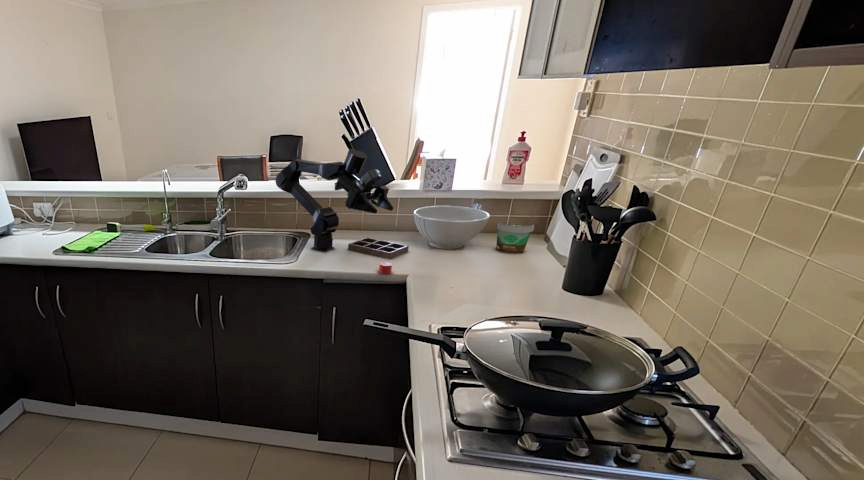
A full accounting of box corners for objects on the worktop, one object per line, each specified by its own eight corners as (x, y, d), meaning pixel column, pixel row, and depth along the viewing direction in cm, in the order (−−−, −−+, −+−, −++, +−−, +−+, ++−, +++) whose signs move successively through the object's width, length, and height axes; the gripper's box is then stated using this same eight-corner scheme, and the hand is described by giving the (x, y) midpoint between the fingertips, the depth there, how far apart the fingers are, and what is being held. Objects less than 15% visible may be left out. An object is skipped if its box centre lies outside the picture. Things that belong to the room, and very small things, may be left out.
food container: (492, 253, 183) (498, 225, 179) (491, 248, 188) (497, 221, 184) (529, 255, 179) (536, 227, 174) (528, 251, 184) (535, 223, 179)
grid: (347, 249, 193) (348, 243, 191) (366, 242, 200) (367, 237, 199) (389, 259, 181) (390, 253, 179) (408, 251, 188) (408, 245, 187)
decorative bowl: (398, 247, 194) (401, 215, 188) (425, 232, 211) (430, 203, 205) (468, 259, 178) (475, 225, 172) (492, 242, 196) (499, 210, 190)
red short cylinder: (376, 272, 168) (377, 264, 167) (382, 269, 171) (383, 261, 169) (386, 275, 166) (387, 266, 164) (393, 272, 168) (394, 263, 166)
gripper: (346, 165, 163) (380, 191, 156) (379, 162, 174) (412, 187, 167) (331, 195, 170) (363, 221, 163) (365, 191, 181) (395, 215, 175)
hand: (384, 210), depth 167 cm, fingers open, 9 cm apart
